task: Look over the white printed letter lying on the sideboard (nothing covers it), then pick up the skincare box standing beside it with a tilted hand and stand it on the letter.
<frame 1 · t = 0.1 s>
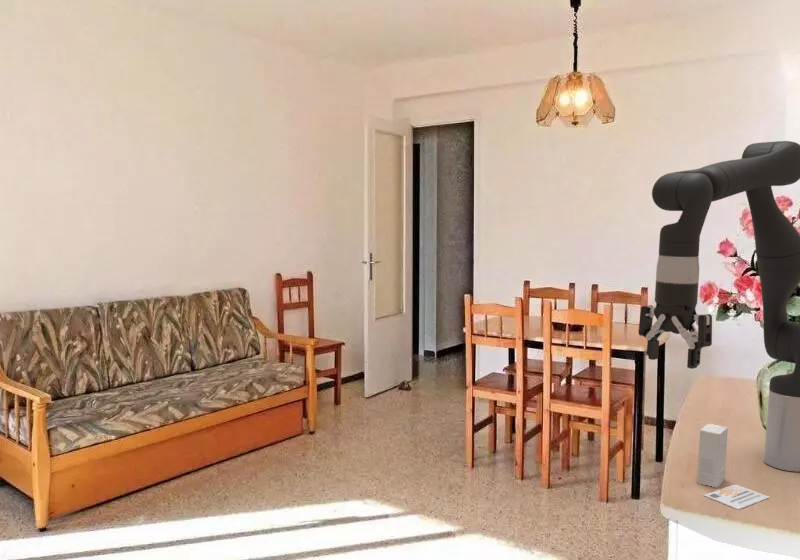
hand: (672, 363, 131), 29 cm above the sideboard, tool pointing down, fingers open, 8 cm apart
letter: (736, 496, 140), on the sideboard
skincare box: (710, 482, 148), on the sideboard
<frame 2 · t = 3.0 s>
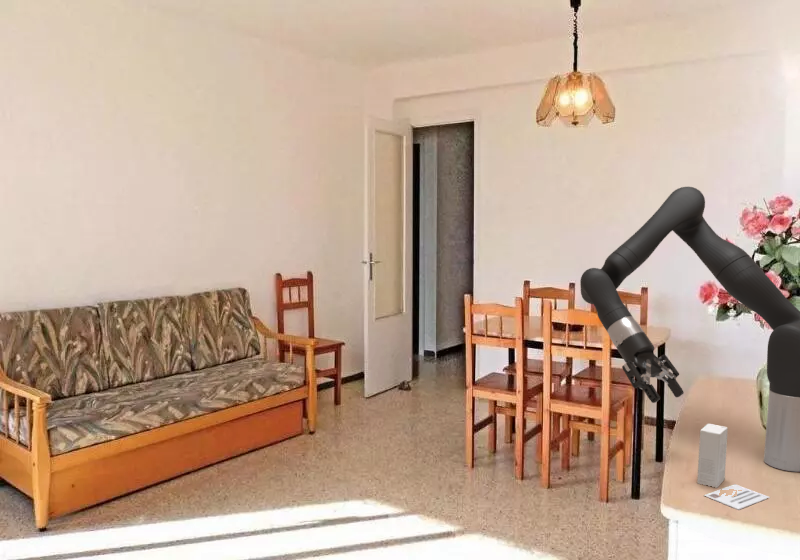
hand: (668, 398, 156), 16 cm above the sideboard, tool tilted 45°, fingers open, 8 cm apart
nothing on the sideboard moved.
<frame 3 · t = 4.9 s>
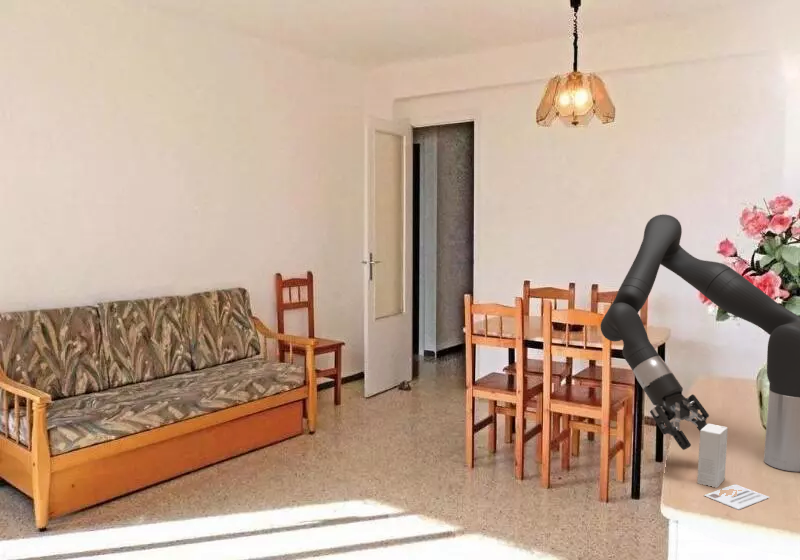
hand: (699, 443, 150), 7 cm above the sideboard, tool tilted 45°, fingers open, 8 cm apart
nothing on the sideboard moved.
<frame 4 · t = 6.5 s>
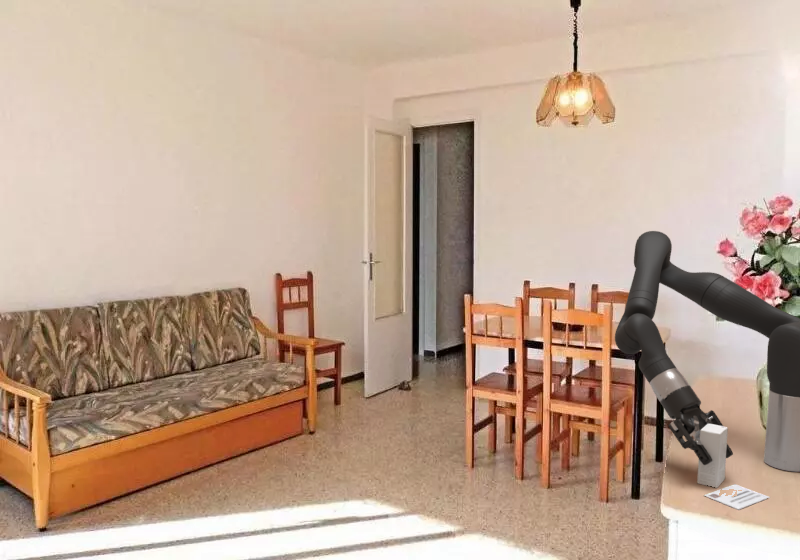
hand: (718, 459, 146), 5 cm above the sideboard, tool tilted 45°, fingers closed on skincare box, 7 cm apart
skincare box: (710, 482, 148), on the sideboard, touching gripper
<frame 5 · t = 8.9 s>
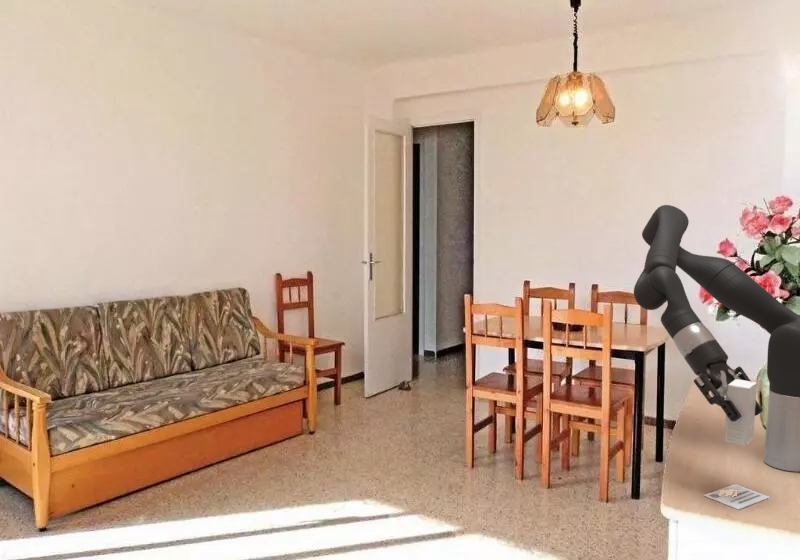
hand: (747, 416, 137), 17 cm above the sideboard, tool tilted 45°, fingers closed on skincare box, 7 cm apart
skincare box: (738, 441, 139), point 12 cm above the sideboard, touching gripper
when the fingers open (7 cm above the sideboard, at t = 11.5 s): skincare box drops 1 cm, resting on letter.
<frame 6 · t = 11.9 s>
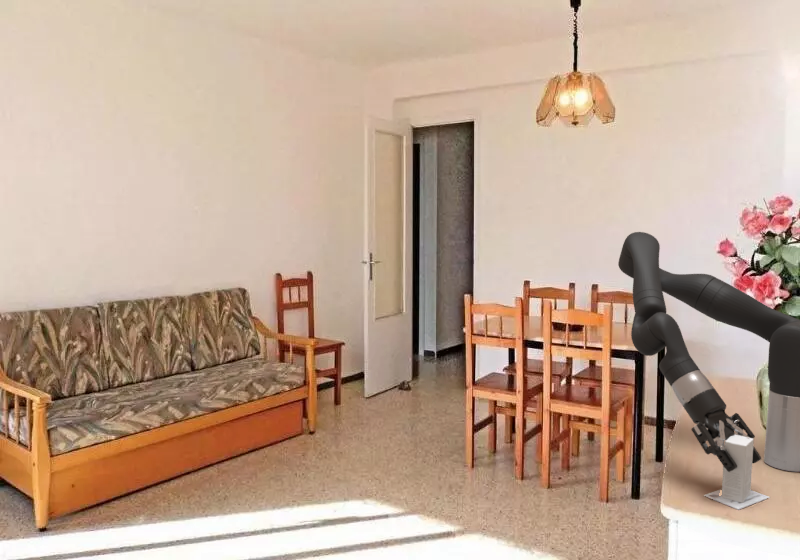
hand: (745, 465, 138), 7 cm above the sideboard, tool tilted 45°, fingers open, 8 cm apart
skincare box: (735, 496, 140), resting on letter
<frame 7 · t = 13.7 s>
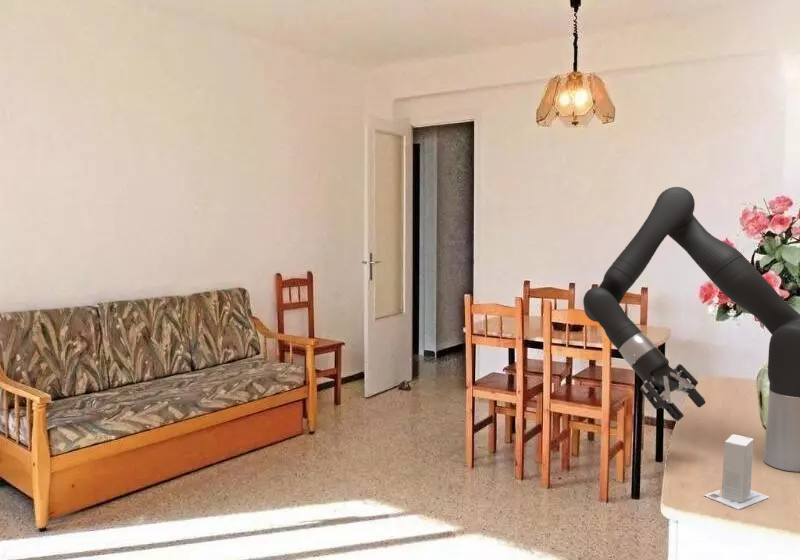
hand: (691, 412, 155), 13 cm above the sideboard, tool tilted 50°, fingers open, 8 cm apart
nothing on the sideboard moved.
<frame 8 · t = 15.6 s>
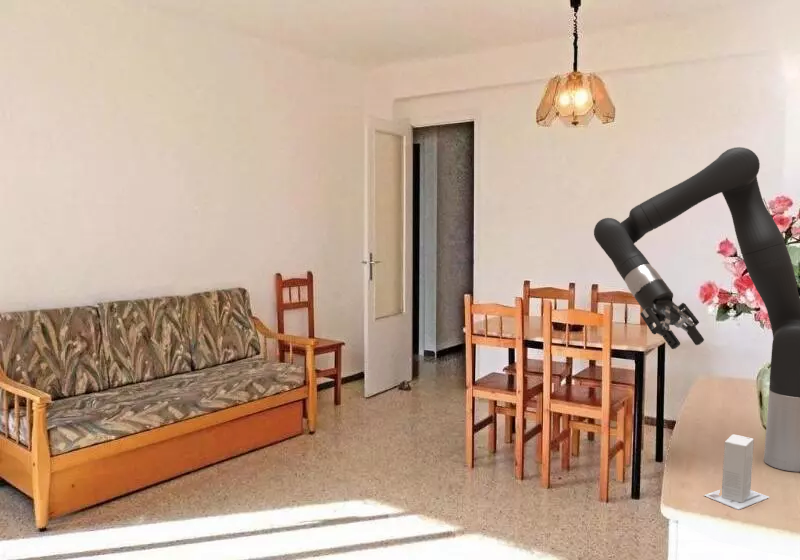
hand: (688, 345, 151), 29 cm above the sideboard, tool tilted 45°, fingers open, 8 cm apart
nothing on the sideboard moved.
at the end: skincare box inside the target area on the letter (0.2 cm from its centre), point 0.0 cm above the letter's base; skincare box tilted 0°; the gripper is holding nothing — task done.
